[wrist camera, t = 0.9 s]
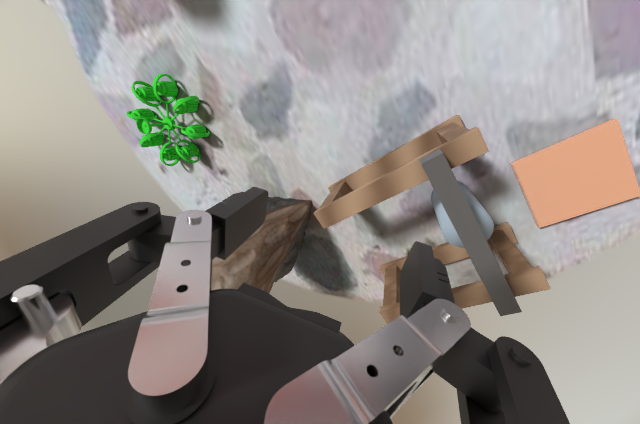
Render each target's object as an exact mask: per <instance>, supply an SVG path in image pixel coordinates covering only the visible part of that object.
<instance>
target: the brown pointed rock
mask: <svg viewBox="0 0 640 424" xmlns="http://www.w3.org/2000/svg"><path fill="white" fill-rule="evenodd" d="M311 205H312V201H311V200H296V199H291V198H289V199H284V198H280V197H273V198H270V197H268V202H267V211H266V218H265V221H264V223H263V224H262V226H261V227H260V228H259V229H258V230H257V231H256V232H254V233H253V234H252V235H251V236H250V237H249V238H248V239H247V240H246V241H245V242H244V243H243V244H242V245H241V246H240V247H239V248H237V249H236V250H235V251H234V252H233V253H232V254H231V255H230V256H229V257H228V258H227V259H226V260H222V259H220V258H217V257H215V258H214V259H213V260H212V290H216V289H238V288H239V287H240V286H241V285H242V284H243V282H244V283H246V284H249V285H251V286H254V287H256V288H258V289H261V290H263V291H266V292H267V293H270V291H271V288H272V286H273V283H274V282H277V280H279V279H280V278H283V277H284V276H285V275H287V274H288V273H290V271H291V270H292V268H293V266H294V264H295V261H296V258H297V255H298V252H299V249H300V248H301V246H302V238H303V236H304V235H305V229H306V224H307V222H308V221H309V219H310V210H311Z"/></svg>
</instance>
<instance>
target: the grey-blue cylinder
mask: <svg viewBox="0 0 640 424" xmlns="http://www.w3.org/2000/svg"><path fill="white" fill-rule="evenodd" d="M457 182H458V184H459V186H460V188H461V190H462V192H463V194H464V196H465V198H466V200H467V202H468V204H469V206H470V208H471V210H472V212H473V214H474V216H475V218H476V220H477V222H478V224H479V226H480V228H481V231H482V233H483V235H484V237H485V239H486V241H487V240H488V239H489V238H490V237H491V235H492V233H493V230H494V223H493V220H492V218H491V217H490V215H489V214H488V213H487V212H486V210H485V209H484V208H483V207H482V205H481V204H480V203H479V202H478V200H477V199H476V198H475V196H474V195H473V194H472V193H471V191H470V190H469V189H468V188H467V186H466V185H465V184H463V183H462V182H460V181H457ZM431 201H432V204H433V207H434V210H435V213H436V216H437V219H438V222H439V225H440V228H441V231H442V234H443V236H444V238H445V239H446V241H447V242H449V243H450V244H451V245H453V246H456V247H460V248H465V247H464V245H463V243H462V241H461V240H460V238H459V236H458V234H457V232H456V230H455V228H454V226H453V224H452V222H451V220H450V219H449V217H448V215H447V213H446V211H445V209H444V207H443V205H442V203H441V201H440V199H439V198H438V196H437V194H436V192H435V190H433V192H432V195H431Z"/></svg>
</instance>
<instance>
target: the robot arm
mask: <svg viewBox="0 0 640 424" xmlns="http://www.w3.org/2000/svg"><path fill="white" fill-rule="evenodd" d="M267 202H268V192H267V191H266V190H263V189H260V188H257V187H252V188H251V189H249V190H248V191H246V192H241V193H236V194H233V195H231V196H230V197H228V198H227V199H225V200H223V201H222V202H220V203H218V204H216V205H215V206H213V207H211V208H210V209H208V210H206V211H201V210H189V211H185V212H182V213H181V214H179V215H178V216H177V217H172V216H164V215H161V214H160V207H159V206H158V205H156V204H154V203H150V202H137V203H132V204H129V205H126V206H124V207H122V208H119V209H117V210H115V211H113V212H110V213H108V214H106V215H104V216H101V217H99V218H97V219H95V220H92V221H90V222H88V223H86V224H84V225H81V226H79V227H77V228H75V229H72V230H70V231H68V232H66V233H63V234H61V235H59V236H57V237H54V238H52V239H50V240H48V241H45V242H43V243H41V244H39V245H36V246H35V247H32V248H30V249H28V250H25V251H23V252H21V253H19V254H17V255H14V256H12V257H10V258H7V259H5V260H3V261H1V262H0V424H393V423H392V421H391V417H393V416H394V414H395V413H396V412H397V411H398V410H399V409H400V408H401V406H402V405H403V404H404V403H405V402H406V401H407V400H408V399H409V398H410V397H411V396H412V395H413V394H414V393H415V392H416V391H417V390H418V389H419V388H420V387H421V386H422V385H423V384H424V383H425V382H426V380H427V379H429V377H430V376H431V375H432V374H433V373H434V372H435V373H436V374H438V375H439V376H440V377H442V378H443V379H444V380H446V381H447V382H448V383H450V384H451V385H452V386H454V387H455V388H457V394H458V402H459V410H460V418H461V424H570V423H569V421H568V419H567V417H566V414H565V412H564V410H563V408H562V406H561V403H560V401H559V399H558V397H557V395H556V393H555V391H554V388H553V386H552V384H551V382H550V380H549V378H548V375H547V373H546V371H545V369H544V367H543V365H542V363H541V362H540V360H539V359H538V358H537V357H536V355H535V354H534V353H533V352H532V351H531V350H529V349H528V348H527V347H526V346H524V345H523V344H521V343H520V342H518V341H516V340H514V339H512V338H509V337H499V338H498V339H497V340H496V341H495V342H492V341H491V340H490V339H488V338H486V337H485V336H483V335H481V334H480V333H478V332H477V331H475V330H474V329H472V328H471V327H470V326H471V323H470V320H469V318H468V316H467V315H466V313H465V312H464V311H463V310H462V309H461V308H460V307H458V306H457V305H456V304H455V301H454V297H453V293H452V289H451V285H450V284H449V283H450V281H449V277H448V274H447V270H446V267H445V266H444V265H443V263H442V262H441V261H440V260H439V259H436V258H434V254H433V249H432V246H429V245H426V244H423V243H420V242H417V241H416V242H415V243H414V244H413V246H412V248H411V250H410V252H409V254H408V256H407V258H406V260H405V262H404V264H403V267H402V270H401V274H400V316H399V317H398V318H396V319H395V320H393V321H391V322H390V323H388V324H387V325H385V326H384V327H382V328H381V329H379V330H378V331H376V332H375V333H373V334H372V335H370V336H369V337H367V338H365V339H364V340H362V341H361V342H359V343H358V344H356V345H354V344H353V343H352V342H351V341H350V340H349V339H348V338H347V337H346V336H345V335H344V334H342V333H341V332H340V331H339V330H340V326H341V322H339V321H336V320H334V319H332V318H329V317H327V316H324V315H322V314H320V313H317V312H312V311H307V310H301V309H295V308H290V307H287V306H285V305H284V304H282V303H281V302H280V301H278V300H277V299H275V298H274V297H273V296H271V295H270V294H269V293H267V292H266V291H263V290H261V289H258V288H256V287H254V286H251V285H249V284H246V283H244V282H243V284H242V285H241V286H240V287H239V288H238V289H216V290H212V260H213V259H214V258H215V257H217V258H220V259H222V260H226V259H227V258H228V257H229V256H230V255H231V254H232V253H233V252H234V251H235V250H236V249H237V248H239V247H240V246H241V245H242V244H243V243H244V242H245V241H246V240H247V239H248V238H249V237H250V236H251V235H252V234H253V233H254V232H256V231H257V230H258V229H259V228H260V227H261V226H262V224H263V223H264V221H265V218H266V211H267ZM125 243H128V247H129V251H127V252H126V253H124V254H122V255H121V256H119V257H118V258H116V259H115V260H113V261H111V262H110V263H108V262H107V261H108V257H109V255H110V253H111V252H112V251H113V250H115V249H116V248H118V247H120V246H121V245H123V244H125ZM158 267H159V270H158V274H157V278H156V281H155V286H154V289H153V293H152V297H151V301H150V305H149V308H148V311H147V312H144V313H141V314H138V315H135V316H132V317H129V318H126V319H123V320H120V321H117V322H113V323H110V324H107V325H105V326H101V327H99V328H95V329H93V330H89V331H86V332H83V333H80V334H78V333H79V332H80V330H81V327H82V326H83V325H85V324H86V323H87V322H88V321H90V320H91V319H92V318H93V317H95V316H96V315H97V314H99V313H100V312H101V311H103V310H104V309H105V308H106V307H108V306H109V305H110V304H111V303H113V302H114V301H115V300H117V299H118V298H119V297H120V296H122V295H123V294H124V293H125V292H127V291H128V290H129V289H131V288H132V287H133V286H135V285H136V284H137V283H138V282H140V281H141V280H142V279H144V278H145V277H146V276H147V275H149V274H150V273H151V272H152V271H154V270H155V269H156V268H158Z"/></svg>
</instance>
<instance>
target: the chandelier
mask: <svg viewBox="0 0 640 424" xmlns="http://www.w3.org/2000/svg"><path fill="white" fill-rule="evenodd" d="M162 76H168V77H169V78H170V79H171V81H172V82H167V81H160V82H158V80H159V79H160V78H161V77H162ZM135 84H142V85H145V86H147V87H139V88H137V89H136V90H135V87H134V85H135ZM132 91H133V93H134V94H135V96H136V97H137V98H138V99H139V100H140V101H142V102H143V103H145V104H147V105H149V106H153V107H156V108H157V109H158V111H159V112H160V114H161V115H162V116H163V118H164V119H163V121H161V120H158V119H157V115H155V114H153V112H152V111H151V110H150V109H136V110H133V111H129V112H127V116H128V117H130V118H132V119H134V120H135V121H137V127H138V129H139V130H140V132H142V133H143V134H146V135H144V136H143V137H142V139H141V141H140V142H139V144H140V145H141V146H142V147H149V146H157V145H161V144H162V143H163V142H164V139H163V138H164V137H165V135H164V134H163V133H162V131H163V130H164V129H165V128H166V129H168V133H169V142H168V143H166V144H164V145H163V146H162V148H161V150H160V159H161V161H162V162H163V163H164V164H165V165H168V166H173V165H175V164H177V163H178V161H179V160H180V157H181V158H182V159H184V160H185V161H187V162H190V163H196V162H197V161H199V160H200V158H201V154H200V152H199V148H198V147H197V146H196V145H194V144H193V143H192V142H190V141H187V140H181V139H180V137H179V136H178V135H177V133H176V132H175V131H174V129H175V127H179V128H181V132H182V133H183V134H185V135H187V136H188V137H189V138H193V139H198V138H203V137H207V136H209V135H210V132H209V131H208V130H206V128H205V127H204V126H203V125H201V124H200V125H199V124H197V125H190V126H189V127H181V126H178V125H176V124H175V121H174V119H175V118H176V117H177V116H178V115H179V114H183V113H190V112H195V111H197V110H198V104H199V103H200V101H199V99H198V98H197V97H196V96H190V97H186V98H181V99H178V100H177V101H176V104H175V105H174V106H173V110H174V112H175V113H176V115H175V116H174V117H173V118H171V117H169V112H168V103H172V102H173V101H174V100H175V99H176V97H177V94H178V88H177V86H176V82H175V80H174V79H173V78H172V77H171V76H169V75H167V74H159V75H157V76H156V78H155V79H154V82H153V87H152V86H151V85H149V84H147V83H145V82H142V81H135V82H134V83H133V85H132ZM160 95H162V96H165V97H172V99H171V100H169V101H167V102H165V101H163V100H162V99H161V97H160ZM157 100H159V103H158V104H152V103H149V102H147V101H157ZM196 100H197V101H196ZM161 102H163V103H166V108H167V117H166V118H165V117H164V115H163V114H162V112H161V111H160V110H159V108H158V107H157V106H159V105H160V104H161ZM195 104H196V105H195ZM176 109H178V110H179V111H176ZM153 120H156V121H159V122H163V123H157V124H150V122H151V121H153ZM162 125H164V127H163V128H162V129H161V130H160V131H159V132H157V133H150V132H151V131H152V127H153V126H162ZM170 130H173V132H174V133H175V134H176V136H177V137H178V139H179V140H180V141H178V142H177V143H173V142H171V138H170ZM184 130H186V131H184ZM148 133H150V134H148ZM161 138H162V139H161ZM180 142H185V143H188V144H189V145H184V146H182V147H179V145H178V144H179V143H180ZM169 144H175V145H176V147H171V148H167V149H165V148H166V147H167V146H168V145H169ZM197 148H198V149H197ZM197 155H198V160H196V161H192V160H189V159H187V158H191V157H194V156H197ZM175 159H176V161H175V162H173V163H172V164H166V163H165V161H164V160H166V161H168V160H169V161H171V160H175Z"/></svg>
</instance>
